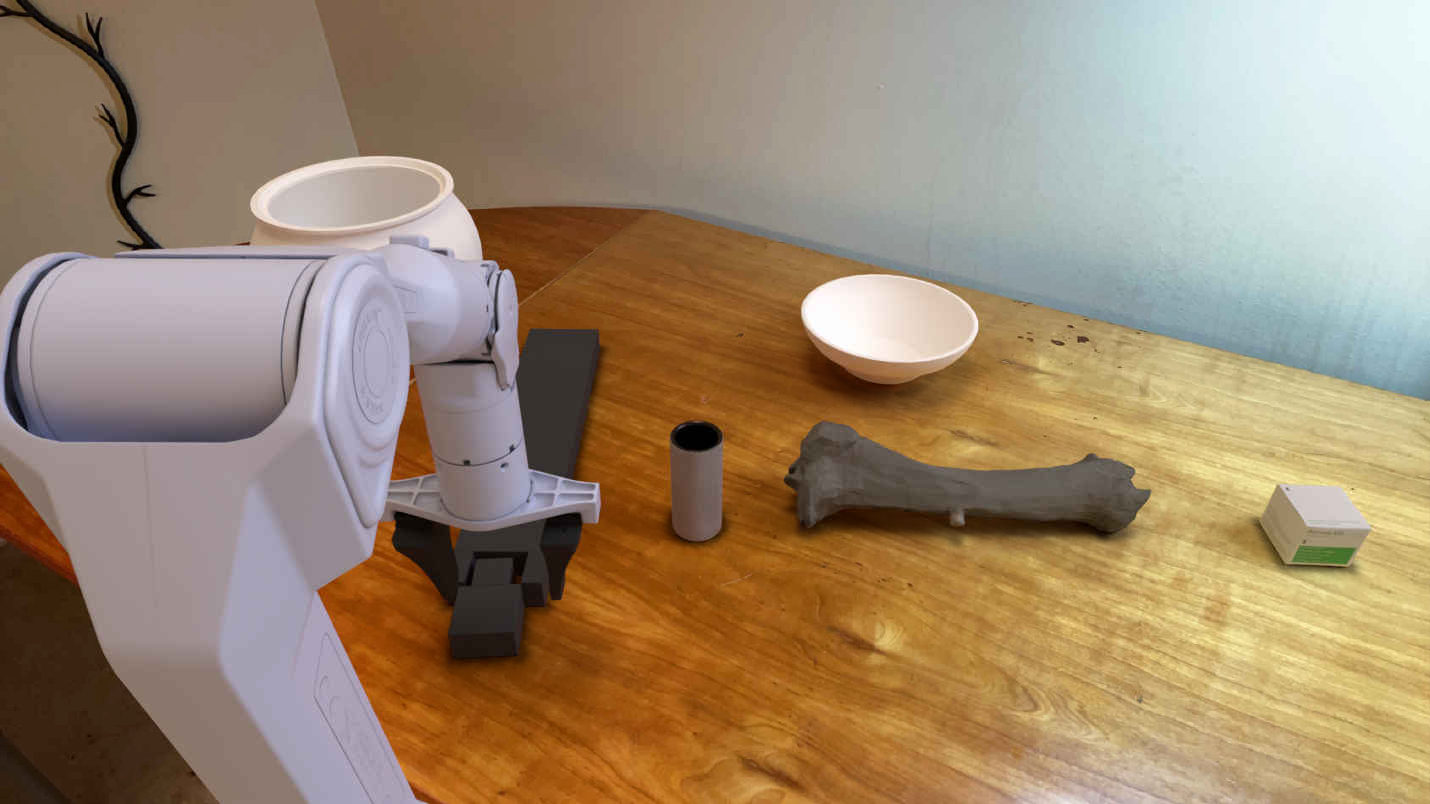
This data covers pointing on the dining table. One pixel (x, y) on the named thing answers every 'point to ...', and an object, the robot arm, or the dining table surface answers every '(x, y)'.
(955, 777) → the dining table surface
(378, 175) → the pot
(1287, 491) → the small box
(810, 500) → the bone
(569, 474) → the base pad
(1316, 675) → the dining table surface
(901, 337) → the bowl
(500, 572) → the pad
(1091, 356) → the dining table surface
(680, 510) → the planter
